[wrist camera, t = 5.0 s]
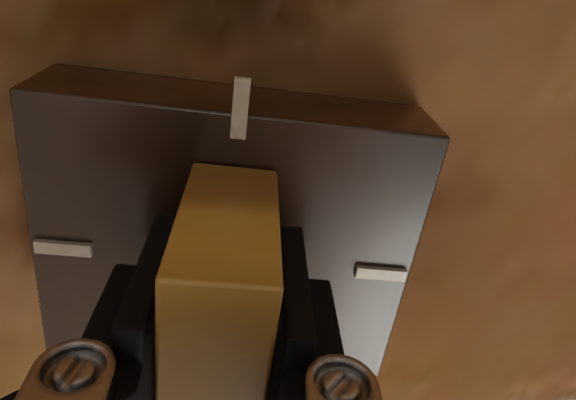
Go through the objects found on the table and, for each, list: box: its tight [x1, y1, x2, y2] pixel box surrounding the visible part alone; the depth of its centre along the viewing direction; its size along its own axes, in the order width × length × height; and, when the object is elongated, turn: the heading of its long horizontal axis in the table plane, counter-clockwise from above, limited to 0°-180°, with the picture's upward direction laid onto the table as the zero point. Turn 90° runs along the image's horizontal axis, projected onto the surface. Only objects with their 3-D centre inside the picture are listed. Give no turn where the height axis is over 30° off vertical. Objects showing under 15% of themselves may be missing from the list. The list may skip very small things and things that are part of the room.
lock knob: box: [155, 163, 284, 400], centre depth 10 cm, size 6×2×5 cm, turn 173°
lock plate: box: [9, 64, 450, 376], centre depth 14 cm, size 10×10×3 cm
